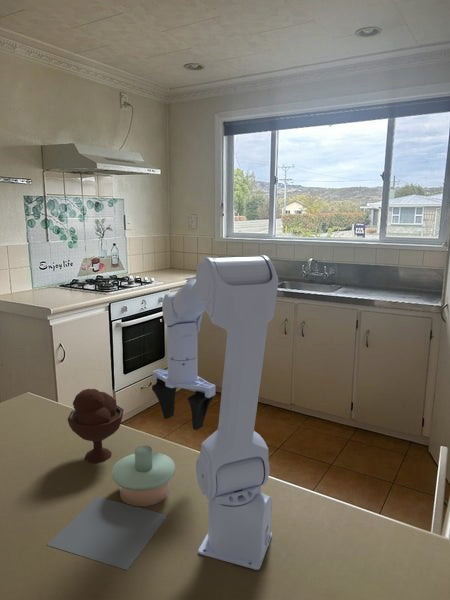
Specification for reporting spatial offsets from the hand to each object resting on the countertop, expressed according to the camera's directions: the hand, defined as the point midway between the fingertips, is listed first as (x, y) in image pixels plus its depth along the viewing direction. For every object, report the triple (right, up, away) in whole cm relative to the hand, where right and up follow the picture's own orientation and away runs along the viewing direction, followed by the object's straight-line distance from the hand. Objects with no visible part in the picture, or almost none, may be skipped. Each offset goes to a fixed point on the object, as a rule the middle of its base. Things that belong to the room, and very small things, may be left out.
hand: (183, 422), depth 88 cm
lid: (-6, -7, -8) cm, 12 cm away
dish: (-6, -11, -7) cm, 14 cm away
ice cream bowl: (-18, -9, +5) cm, 21 cm away
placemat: (-10, -13, -17) cm, 23 cm away
